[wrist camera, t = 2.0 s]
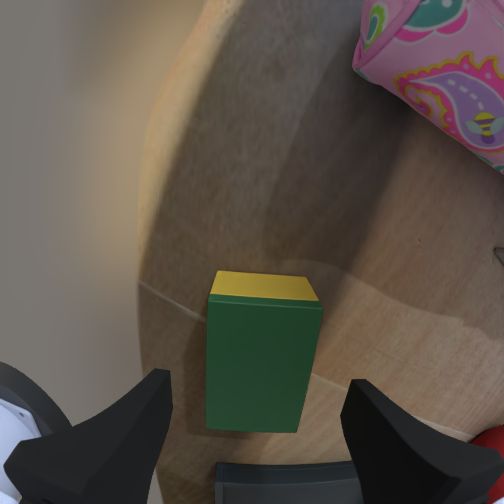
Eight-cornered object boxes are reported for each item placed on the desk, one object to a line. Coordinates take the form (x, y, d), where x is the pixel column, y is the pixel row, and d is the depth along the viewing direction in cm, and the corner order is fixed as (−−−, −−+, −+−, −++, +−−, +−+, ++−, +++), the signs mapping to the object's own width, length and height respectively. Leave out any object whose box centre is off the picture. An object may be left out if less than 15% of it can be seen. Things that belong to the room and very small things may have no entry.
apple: (512, 432, 21) (552, 482, 11) (451, 481, 22) (482, 539, 12) (508, 396, 19) (563, 456, 9) (435, 456, 20) (475, 530, 10)
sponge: (212, 382, 17) (205, 429, 13) (217, 269, 16) (207, 300, 12) (288, 386, 17) (296, 433, 13) (306, 276, 16) (323, 307, 12)
